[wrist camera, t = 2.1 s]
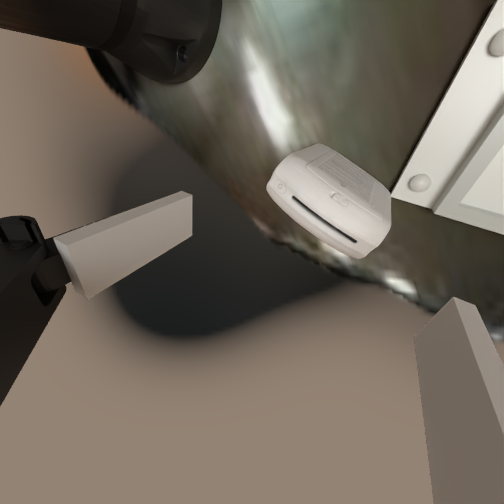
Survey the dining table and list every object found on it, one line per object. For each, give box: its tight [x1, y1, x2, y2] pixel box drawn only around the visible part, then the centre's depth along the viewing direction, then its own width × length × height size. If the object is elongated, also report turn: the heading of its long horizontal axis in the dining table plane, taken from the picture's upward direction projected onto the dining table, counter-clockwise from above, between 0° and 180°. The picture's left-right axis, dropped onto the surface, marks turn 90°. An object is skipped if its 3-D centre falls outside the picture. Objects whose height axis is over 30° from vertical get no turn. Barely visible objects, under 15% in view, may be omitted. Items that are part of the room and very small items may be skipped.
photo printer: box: [266, 143, 391, 259], centre depth 21 cm, size 10×4×12 cm, turn 62°
